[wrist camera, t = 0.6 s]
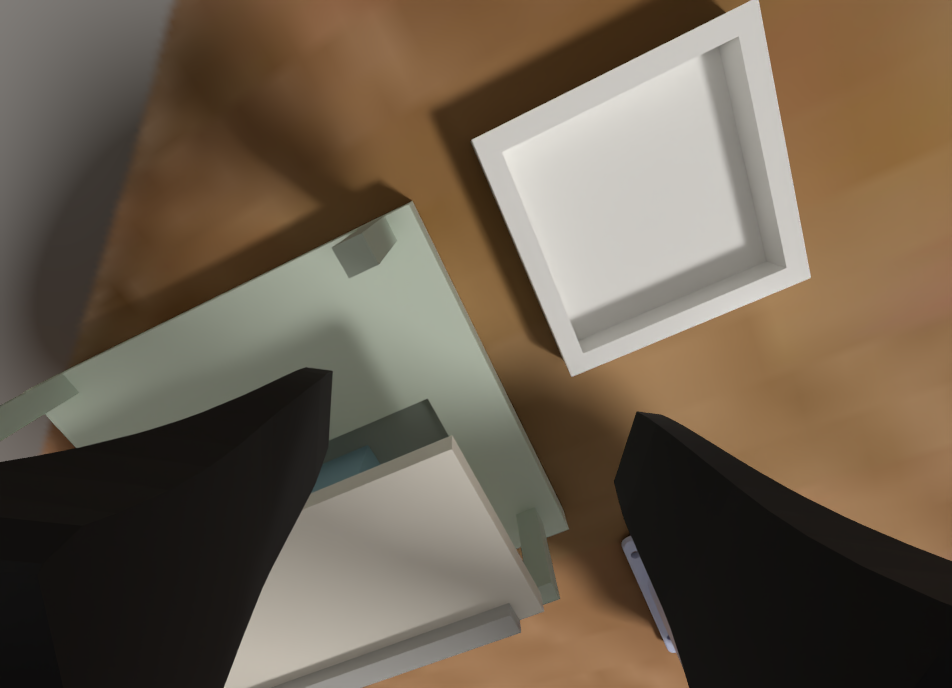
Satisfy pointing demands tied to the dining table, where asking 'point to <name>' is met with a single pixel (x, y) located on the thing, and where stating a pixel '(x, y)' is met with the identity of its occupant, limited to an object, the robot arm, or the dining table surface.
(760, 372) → the dining table surface
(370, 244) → the puzzle board
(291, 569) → the cover
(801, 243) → the dish
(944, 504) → the dining table surface
